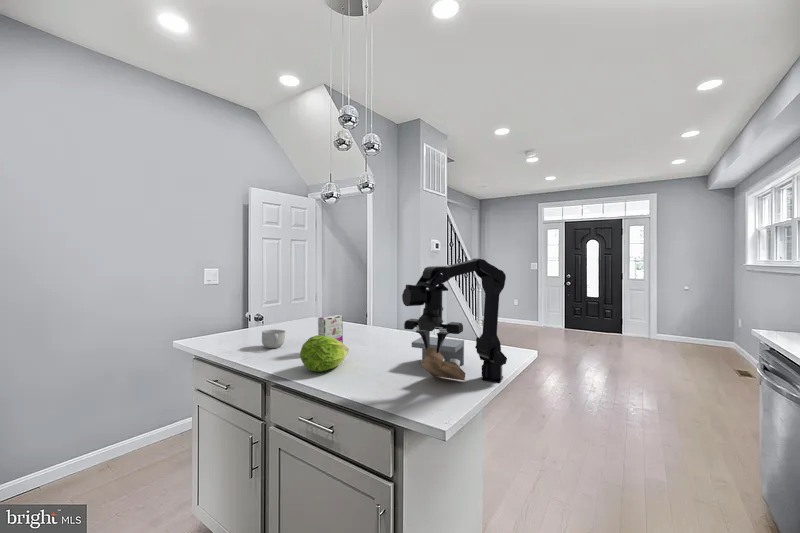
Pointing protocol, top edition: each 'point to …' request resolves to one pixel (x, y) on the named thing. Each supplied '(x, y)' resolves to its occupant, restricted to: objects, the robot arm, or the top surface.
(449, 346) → the grey piece
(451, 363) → the walnut tray
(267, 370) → the top surface
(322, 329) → the candy bar box
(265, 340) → the teacup
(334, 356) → the lettuce
